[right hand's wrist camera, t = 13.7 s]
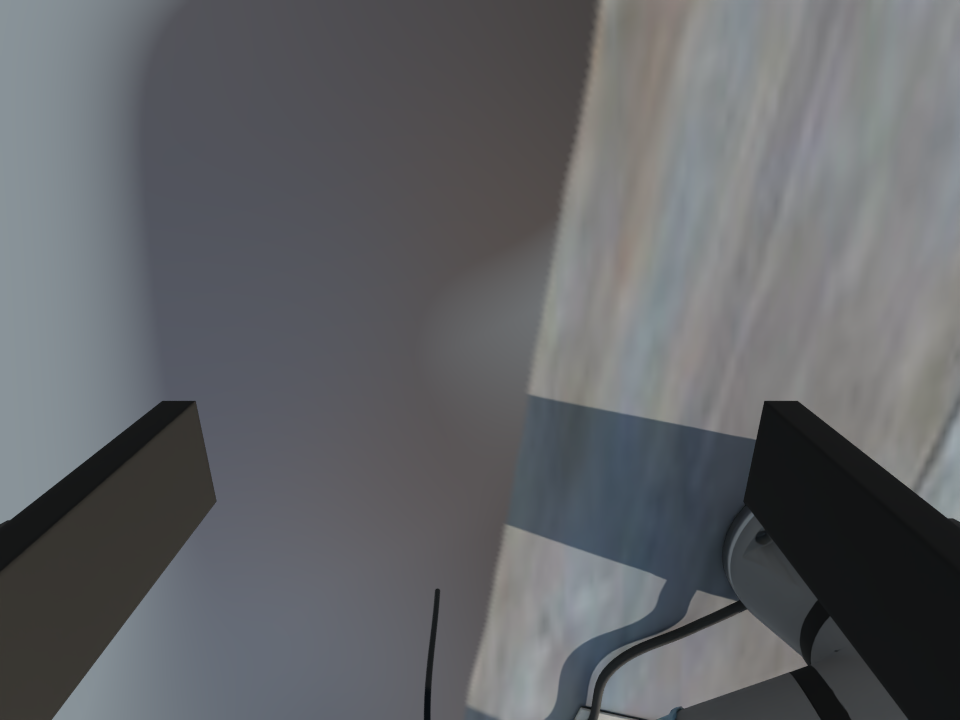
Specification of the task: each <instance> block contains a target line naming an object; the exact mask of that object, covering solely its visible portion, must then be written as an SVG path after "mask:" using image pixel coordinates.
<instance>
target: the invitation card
mask: <svg viewBox="0 0 960 720" xmlns="http://www.w3.org/2000/svg"><path fill="white" fill-rule="evenodd" d="M590 712H591V709H586V708H582V707H581V708H580V710H579V712H578V713H577V715H576V717H575V719H574V720H588V718H589V715H590ZM598 720H637V719H632V718H628V717H623V716H618V715H614V714H609V713H605V712H600V713H599V717H598Z"/></svg>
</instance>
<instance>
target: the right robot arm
mask: <svg viewBox="0 0 960 720" xmlns="http://www.w3.org/2000/svg"><path fill="white" fill-rule="evenodd" d="M215 503H216V497H215V492H214V487H213V482H212V477H211V473H210V468H209V463H208V458H207V454H206V449H205V444H204V439H203V434H202V430H201V425H200V420H199V415H198V410H197V405H196V401H162V402H161V403H159V404H158V405H157V406H155V407H154V408H153V409H152V410H150V411H149V412H148V413H146V414H145V415H144V416H143V417H141V418H140V419H139V420H137V421H136V422H135V423H134V424H132V425H131V426H130V427H129V428H127V429H126V430H125V431H124V432H122V433H121V434H120V435H118V436H117V437H116V438H115V439H113V440H112V441H111V442H110V443H108V444H107V445H106V446H104V447H103V448H102V449H101V450H99V451H98V452H97V453H95V454H94V455H93V456H92V457H90V458H89V459H88V460H86V461H85V462H84V463H83V464H81V465H80V466H79V467H78V468H76V469H75V470H74V471H72V472H71V473H70V474H69V475H67V476H66V477H65V478H64V479H62V480H61V481H60V482H58V483H57V484H56V485H55V486H53V487H52V488H51V489H49V490H48V491H47V492H46V493H44V494H43V495H42V496H41V497H39V498H38V499H37V500H35V501H34V502H33V503H32V504H30V505H29V506H28V507H26V508H25V509H24V510H23V511H21V512H20V513H19V514H18V515H16V516H15V517H14V518H12V519H11V520H8V521H6V522H4V523H2V524H0V720H52V719H53V717H54V716H55V715H56V713H57V712H58V711H59V709H60V708H61V707H62V705H63V704H64V703H65V701H66V700H67V699H68V697H69V696H70V695H71V693H72V692H73V691H74V689H75V688H76V687H77V685H78V684H79V683H80V681H81V680H82V679H83V678H84V676H85V675H86V674H87V672H88V671H89V669H90V668H91V667H92V666H93V664H94V663H95V662H96V660H97V659H98V658H99V656H100V655H101V654H102V652H103V651H104V650H105V648H106V647H107V646H108V644H109V643H110V642H111V640H112V639H113V638H114V636H115V635H116V634H117V632H118V631H119V630H120V629H121V627H122V626H123V625H124V623H125V622H126V620H127V619H128V618H129V617H130V615H131V614H132V612H133V611H134V610H135V609H136V607H137V606H138V605H139V603H140V602H141V601H142V599H143V598H144V597H145V595H146V594H147V593H148V591H149V590H150V589H151V587H152V586H153V585H154V583H155V582H156V581H157V579H158V578H159V577H160V575H161V574H162V573H163V571H164V570H165V569H166V568H167V566H168V565H169V563H170V562H171V561H172V560H173V558H174V557H175V556H176V554H177V553H178V552H179V550H180V549H181V548H182V546H183V545H184V544H185V542H186V541H187V540H188V538H189V537H190V536H191V534H192V533H193V532H194V530H195V529H196V528H197V526H198V525H199V524H200V522H201V521H202V520H203V518H204V517H205V516H206V514H207V513H208V512H209V511H210V509H211V508H212V507H213V505H214V504H215ZM744 503H745V504H746V505H745V506H744V508H743V509H742V510H741V511H740V512H739V514H738V515H737V517H736V518H735V519H734V521H733V523H732V525H731V526H730V528H729V531H728V533H727V536H726V539H725V542H724V547H723V566H724V571H725V574H726V577H727V579H728V581H729V583H730V585H731V586H732V588H733V590H734V592H735V593H736V595H737V596H738V598H739V601H737V602H735V603H733V604H731V605H729V606H727V607H724V608H722V609H720V610H718V611H716V612H714V613H712V614H709V615H707V616H705V617H703V618H700V619H698V620H696V621H694V622H692V623H689V624H687V625H685V626H683V627H681V628H678V629H676V630H673V631H671V632H668V633H665V634H663V635H660V636H657V637H655V638H652V639H649V640H647V641H644V642H642V643H640V644H638V645H635V646H633V647H631V648H630V649H628V650H626V651H624V652H623V653H621V654H620V655H618V656H617V657H616V658H614V659H613V660H612V661H611V662H610V663H609V664H608V665H607V666H606V667H605V668H604V669H603V671H602V672H601V674H600V675H599V677H598V680H597V682H596V685H595V689H594V694H593V701H592V708H591V712H590V715H589V718H588V720H598V717H599V713H600V707H601V700H602V694H603V691H604V688H605V685H606V683H607V681H608V680H609V678H610V677H611V676H612V675H613V674H614V673H615V671H617V670H618V669H619V668H620V667H621V666H623V665H624V664H625V663H627V662H628V661H630V660H632V659H633V658H635V657H637V656H639V655H641V654H643V653H645V652H648V651H650V650H653V649H655V648H658V647H661V646H663V645H666V644H669V643H671V642H674V641H677V640H679V639H682V638H684V637H687V636H689V635H691V634H693V633H696V632H698V631H700V630H702V629H705V628H707V627H709V626H711V625H714V624H716V623H718V622H721V621H723V620H725V619H727V618H729V617H731V616H734V615H736V614H738V613H740V612H742V611H744V610H746V609H748V610H749V611H750V612H751V613H752V614H753V615H754V616H755V617H756V618H757V619H759V620H760V621H761V622H762V623H763V624H764V625H766V626H767V627H768V628H769V629H770V630H771V631H773V632H774V633H775V634H776V635H777V636H779V637H780V638H781V639H782V640H783V641H784V642H786V643H787V644H788V645H789V646H790V647H791V648H793V649H794V650H795V651H796V652H797V653H799V654H800V655H801V656H802V657H803V659H804V660H805V662H806V663H807V665H808V666H806V667H803V668H800V669H798V670H795V671H792V672H789V673H786V674H783V675H780V676H778V677H775V678H772V679H769V680H766V681H763V682H760V683H757V684H755V685H752V686H749V687H746V688H743V689H740V690H737V691H734V692H731V693H728V694H726V695H723V696H720V697H717V698H714V699H711V700H708V701H705V702H702V703H699V704H697V705H694V706H691V707H688V708H685V709H683V708H682V707H676V708H674V709H673V710H671V712H670V714H669V715H667V716H664V717H662V718H659V719H657V720H960V522H959V521H957V520H955V519H948V518H946V517H945V516H944V515H942V514H941V513H940V512H939V511H937V510H936V509H935V508H934V507H932V506H931V505H930V504H928V503H927V502H926V501H925V500H923V499H922V498H921V497H919V496H918V495H917V494H916V493H914V492H913V491H912V490H911V489H909V488H908V487H907V486H905V485H904V484H903V483H902V482H900V481H899V480H898V479H897V478H895V477H894V476H893V475H891V474H890V473H889V472H888V471H886V470H885V469H884V468H882V467H881V466H880V465H879V464H877V463H876V462H875V461H874V460H872V459H871V458H870V457H868V456H867V455H866V454H865V453H863V452H862V451H861V450H860V449H858V448H857V447H856V446H854V445H853V444H852V443H851V442H849V441H848V440H847V439H845V438H844V437H843V436H842V435H840V434H839V433H838V432H837V431H835V430H834V429H833V428H831V427H830V426H829V425H828V424H826V423H825V422H824V421H823V420H821V419H820V418H819V417H817V416H816V415H815V414H814V413H812V412H811V411H810V410H808V409H807V408H806V407H805V406H803V405H802V404H801V403H800V402H798V401H764V405H763V410H762V415H761V420H760V425H759V429H758V434H757V439H756V444H755V449H754V453H753V458H752V463H751V468H750V473H749V477H748V482H747V487H746V492H745V497H744ZM439 602H440V589H438V588H437V589H436V590H435V596H434V607H433V617H432V626H431V634H430V642H429V650H428V659H427V668H426V680H425V694H424V720H431V686H432V672H433V661H434V651H435V642H436V633H437V623H438V613H439Z"/></svg>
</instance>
